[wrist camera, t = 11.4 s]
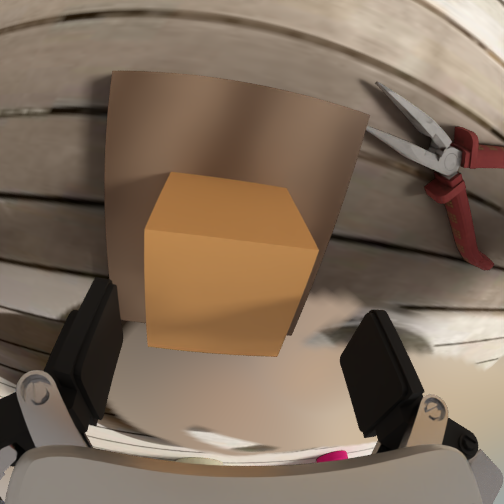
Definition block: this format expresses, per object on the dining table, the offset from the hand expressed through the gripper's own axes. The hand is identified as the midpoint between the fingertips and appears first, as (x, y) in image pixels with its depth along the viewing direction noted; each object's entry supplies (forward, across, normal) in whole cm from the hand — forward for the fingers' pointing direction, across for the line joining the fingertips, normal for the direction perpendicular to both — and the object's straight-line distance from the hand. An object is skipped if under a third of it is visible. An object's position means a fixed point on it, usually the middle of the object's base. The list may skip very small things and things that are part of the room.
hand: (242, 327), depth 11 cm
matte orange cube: (+7, +1, 0) cm, 7 cm away
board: (+9, +1, 0) cm, 9 cm away
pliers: (+11, -17, -8) cm, 21 cm away
